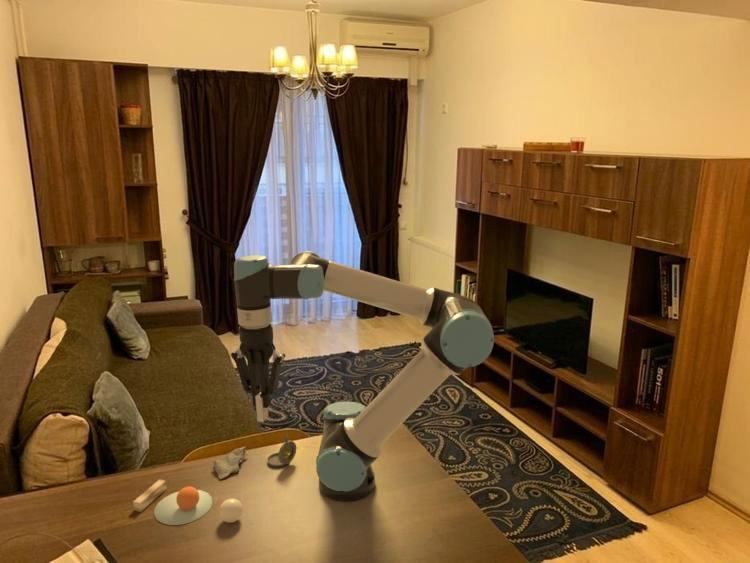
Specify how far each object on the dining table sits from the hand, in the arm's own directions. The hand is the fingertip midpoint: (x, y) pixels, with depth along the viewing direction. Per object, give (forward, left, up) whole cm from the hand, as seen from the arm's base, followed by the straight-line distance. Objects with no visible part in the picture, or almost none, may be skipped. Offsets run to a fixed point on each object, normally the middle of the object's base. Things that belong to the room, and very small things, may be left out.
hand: (262, 418), depth 132 cm
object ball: (+18, -11, -24) cm, 32 cm away
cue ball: (+9, -2, -24) cm, 25 cm away
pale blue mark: (+19, -12, -26) cm, 35 cm away
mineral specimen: (+5, -25, -27) cm, 37 cm away
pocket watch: (-8, -22, -27) cm, 35 cm away
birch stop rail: (+27, -18, -26) cm, 42 cm away
